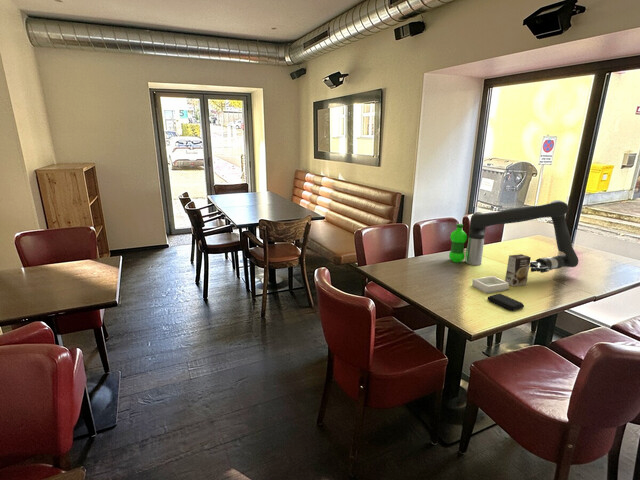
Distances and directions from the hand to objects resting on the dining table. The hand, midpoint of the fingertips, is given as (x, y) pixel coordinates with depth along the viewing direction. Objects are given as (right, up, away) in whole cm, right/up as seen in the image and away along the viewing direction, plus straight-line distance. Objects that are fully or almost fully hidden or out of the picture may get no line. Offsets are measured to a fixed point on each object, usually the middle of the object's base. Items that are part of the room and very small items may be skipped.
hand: (524, 267), depth 194 cm
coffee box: (-5, -9, +1) cm, 10 cm away
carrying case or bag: (-23, -17, -23) cm, 37 cm away
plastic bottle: (-23, +1, +39) cm, 45 cm away
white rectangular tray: (-22, -11, -5) cm, 25 cm away
